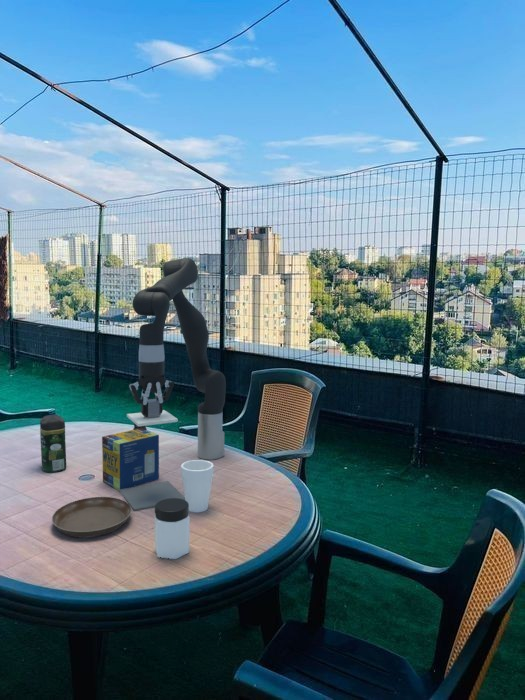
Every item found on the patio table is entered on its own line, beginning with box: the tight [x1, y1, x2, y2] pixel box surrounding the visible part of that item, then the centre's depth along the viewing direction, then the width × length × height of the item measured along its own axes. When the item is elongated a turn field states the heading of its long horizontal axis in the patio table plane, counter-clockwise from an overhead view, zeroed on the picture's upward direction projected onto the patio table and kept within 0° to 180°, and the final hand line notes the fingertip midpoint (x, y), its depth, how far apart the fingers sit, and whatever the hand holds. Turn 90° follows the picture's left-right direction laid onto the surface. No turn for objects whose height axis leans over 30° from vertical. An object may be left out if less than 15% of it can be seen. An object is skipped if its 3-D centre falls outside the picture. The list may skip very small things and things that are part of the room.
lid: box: [126, 398, 179, 427], centre depth 159 cm, size 12×12×6 cm
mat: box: [118, 480, 185, 512], centre depth 163 cm, size 16×16×1 cm
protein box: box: [101, 428, 160, 492], centre depth 173 cm, size 10×15×16 cm
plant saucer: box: [51, 496, 133, 538], centre depth 144 cm, size 21×21×3 cm
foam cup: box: [180, 459, 215, 513], centre depth 154 cm, size 10×9×13 cm
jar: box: [154, 498, 191, 560], centre depth 130 cm, size 9×8×12 cm
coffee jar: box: [39, 414, 67, 473], centre depth 183 cm, size 10×8×19 cm
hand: (151, 415), depth 159 cm, fingers closed on lid, 3 cm apart
